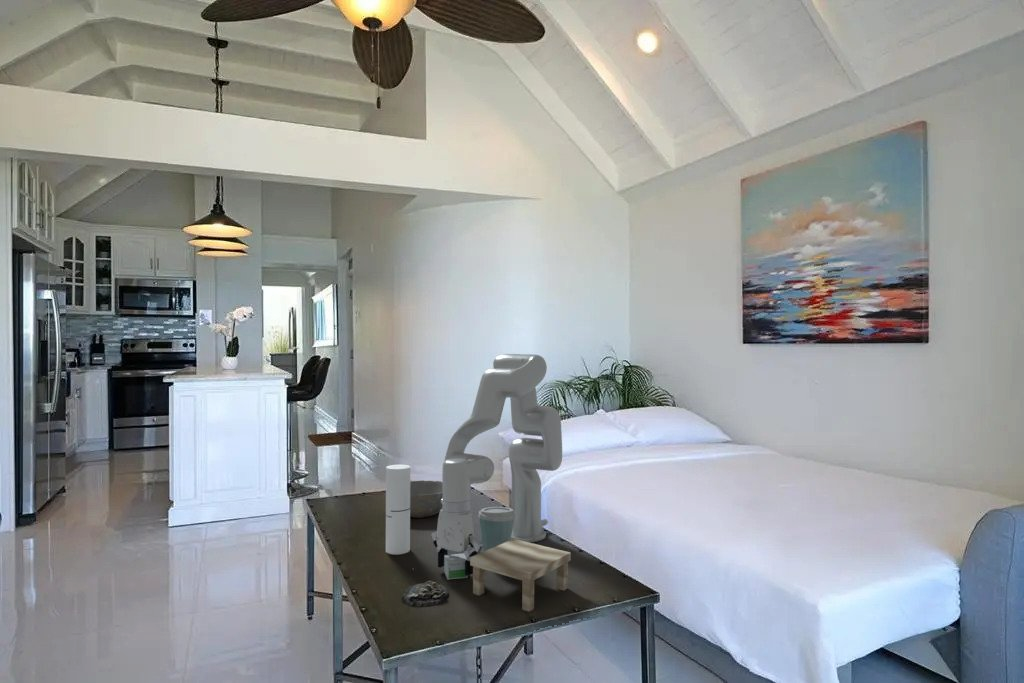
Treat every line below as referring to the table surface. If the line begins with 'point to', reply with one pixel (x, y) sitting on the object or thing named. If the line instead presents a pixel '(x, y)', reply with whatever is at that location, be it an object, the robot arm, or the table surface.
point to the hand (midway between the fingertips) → (456, 570)
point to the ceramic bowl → (425, 498)
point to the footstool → (521, 566)
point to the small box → (454, 566)
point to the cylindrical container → (397, 509)
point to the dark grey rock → (424, 594)
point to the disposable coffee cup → (496, 526)
